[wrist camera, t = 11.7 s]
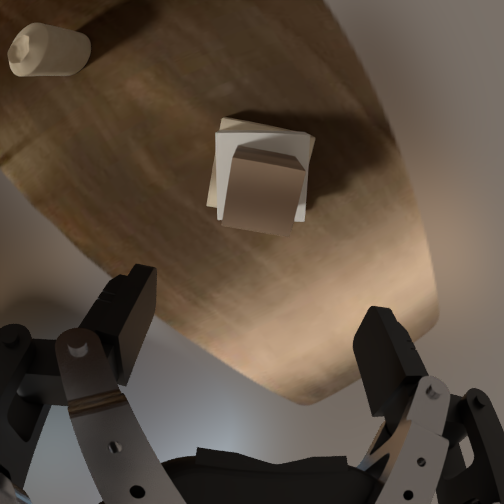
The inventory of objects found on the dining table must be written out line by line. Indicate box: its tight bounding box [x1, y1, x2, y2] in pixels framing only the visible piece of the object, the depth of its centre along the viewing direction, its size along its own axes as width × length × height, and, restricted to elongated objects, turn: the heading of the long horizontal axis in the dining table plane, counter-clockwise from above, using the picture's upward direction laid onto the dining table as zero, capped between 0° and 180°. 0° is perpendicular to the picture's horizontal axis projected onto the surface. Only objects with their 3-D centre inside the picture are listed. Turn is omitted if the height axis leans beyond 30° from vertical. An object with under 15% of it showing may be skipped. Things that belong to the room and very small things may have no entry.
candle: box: [8, 23, 91, 76], centre depth 20 cm, size 6×6×10 cm
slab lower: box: [207, 117, 315, 208], centre depth 30 cm, size 9×9×3 cm
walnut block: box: [221, 146, 306, 237], centre depth 23 cm, size 5×5×6 cm
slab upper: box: [216, 130, 310, 222], centre depth 27 cm, size 8×8×3 cm
